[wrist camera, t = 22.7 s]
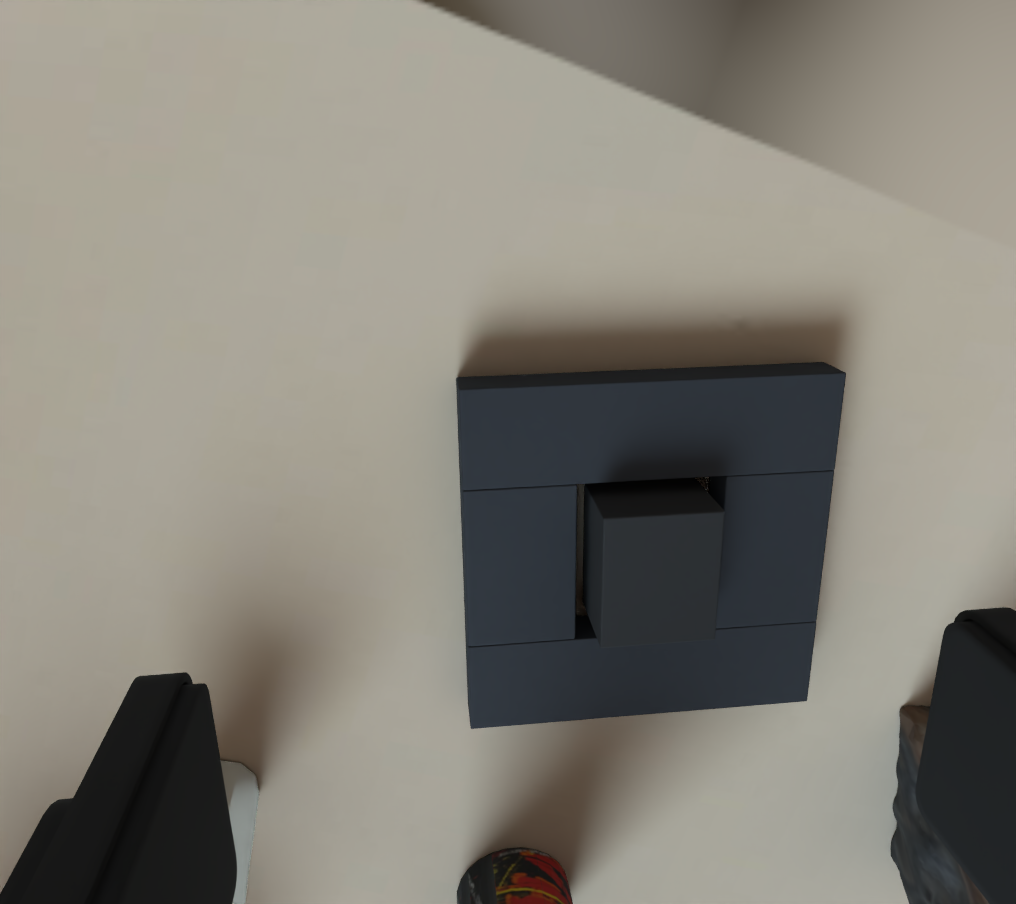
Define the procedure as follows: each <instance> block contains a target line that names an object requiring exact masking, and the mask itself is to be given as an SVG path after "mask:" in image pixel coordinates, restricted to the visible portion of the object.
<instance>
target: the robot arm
mask: <svg viewBox="0 0 1016 904" xmlns="http://www.w3.org/2000/svg"><path fill="white" fill-rule="evenodd" d="M915 795H916V801H917V805H918V808H919V810H920V813H921V815H922V816H923V818H924V819H925V821H926V822H927V823H928V825H929V826H930V827H931V829H932V830H933V831H934V833H935V834H936V835H937V836H938V838H939V839H940V840H941V842H942V843H943V844H944V845H945V847H946V848H947V849H948V851H949V852H950V853H951V855H952V856H953V857H954V858H955V860H956V861H957V862H958V864H959V865H960V866H961V868H962V869H963V870H964V871H965V873H966V874H967V875H968V877H969V878H970V879H971V880H972V882H973V883H974V884H975V886H976V887H977V888H978V890H979V891H980V892H981V893H982V895H983V896H984V897H985V899H986V900H987V901H988V903H989V904H1016V611H1015V610H1013V609H1011V608H990V609H978V610H965V611H963V612H961V613H959V614H958V616H957V617H956V618H955V621H954V623H951V624H949V625H948V626H947V627H946V628H945V631H944V634H943V639H942V645H941V650H940V656H939V661H938V666H937V672H936V677H935V683H934V688H933V694H932V699H931V705H930V710H929V716H928V721H927V726H926V732H925V737H924V743H923V748H922V754H921V759H920V765H919V770H918V776H917V781H916V788H915ZM236 881H237V858H236V851H235V845H234V839H233V833H232V827H231V821H230V815H229V809H228V803H227V797H226V791H225V785H224V779H223V773H222V767H221V761H220V755H219V749H218V742H217V736H216V730H215V724H214V718H213V712H212V706H211V700H210V695H209V690H208V687H207V685H206V684H193V683H192V679H191V677H190V675H189V674H188V673H173V674H161V675H148V676H139V677H137V678H135V680H134V681H133V683H132V684H131V686H130V688H129V690H128V692H127V694H126V696H125V698H124V700H123V702H122V704H121V706H120V708H119V710H118V712H117V714H116V716H115V718H114V720H113V721H112V723H111V725H110V727H109V729H108V731H107V733H106V735H105V737H104V739H103V741H102V743H101V745H100V747H99V749H98V751H97V753H96V755H95V757H94V759H93V761H92V762H91V764H90V766H89V768H88V770H87V772H86V774H85V776H84V778H83V780H82V782H81V784H80V786H79V788H78V790H77V792H76V794H75V796H74V798H71V799H60V800H57V801H56V802H54V803H53V804H51V805H50V806H49V808H48V809H47V811H46V812H45V813H44V815H43V816H42V818H41V820H40V822H39V824H38V826H37V827H36V829H35V831H34V833H33V835H32V837H31V838H30V840H29V842H28V844H27V846H26V848H25V849H24V851H23V853H22V855H21V857H20V859H19V861H18V862H17V864H16V866H15V868H14V870H13V872H12V873H11V875H10V877H9V879H8V881H7V883H6V884H5V886H4V888H3V890H2V892H1V894H0V904H232V903H233V898H234V894H235V889H236Z"/></svg>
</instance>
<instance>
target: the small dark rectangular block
mask: <svg viewBox="0 0 1016 904" xmlns="http://www.w3.org/2000/svg"><path fill="white" fill-rule="evenodd" d="M724 514H725V512H724V510H723V509H722V508H721V507H720V506H719V504H718V503H717V502H716V501H715V500H714V499H713V498H712V497H711V495H710V494H709V493H708V492H707V491H706V490H705V489H704V488H703V487H702V485H701V484H700V483H699V482H698V481H697V480H696V479H695V478H677V479H659V480H641V481H623V482H604V483H586V484H584V540H583V604H584V607H585V609H586V612H587V614H588V617H589V619H590V622H591V624H592V627H593V630H594V632H595V635H596V637H597V640H598V642H599V645H600V647H601V648H610V647H624V646H637V645H651V644H664V643H678V642H691V641H704V640H714V639H715V633H716V620H717V606H718V593H719V580H720V567H721V554H722V540H723V527H724Z"/></svg>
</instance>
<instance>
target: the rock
mask: <svg viewBox="0 0 1016 904" xmlns="http://www.w3.org/2000/svg"><path fill="white" fill-rule="evenodd" d="M929 710H930V707H926V706H906V707H903V708H901V710H900V734H899V738H900V744H899V748H900V749H899V758H898V762H897V768H896V772H897V778H898V792H897V796H896V798H895V800H894V803H893V812H894V815H895V818H896V820H897V829H896V832H895V834H894V836H893V839H892V842H891V857H892V858H893V860H894V862H895V863H896V865H897V867H898V869H899V871H900V877H901V879H902V882H903V886H904V889H905V892H906V894H907V898H908V901H909V904H989V903H988V901H987V900H986V899H985V897H984V896H983V895H982V893H981V892H980V891H979V890H978V888H977V887H976V886H975V884H974V883H973V882H972V880H971V879H970V878H969V877H968V875H967V874H966V873H965V871H964V870H963V869H962V868H961V866H960V865H959V864H958V862H957V861H956V860H955V858H954V857H953V856H952V855H951V853H950V852H949V851H948V849H947V848H946V847H945V845H944V844H943V843H942V842H941V840H940V839H939V838H938V836H937V835H936V834H935V833H934V831H933V830H932V829H931V827H930V826H929V825H928V823H927V822H926V821H925V819H924V818H923V816H922V815H921V813H920V810H919V808H918V805H917V801H916V795H915V788H916V781H917V776H918V770H919V765H920V759H921V754H922V748H923V743H924V737H925V732H926V726H927V721H928V716H929Z"/></svg>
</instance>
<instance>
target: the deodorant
mask: <svg viewBox="0 0 1016 904" xmlns="http://www.w3.org/2000/svg"><path fill="white" fill-rule="evenodd" d="M457 904H573V902H572V897H571V893H570V888H569V884H568V880H567V877H566V874H565V871H564V870H563V868H562V867H561V865H560V864H559V863H558V862H557V861H556V860H555V859H553V858H552V857H551V856H549V855H548V854H545V853H543V852H540V851H537V850H534V849H526V848H512V849H504V850H501V851H498V852H494V853H491V854H489V855H488V856H486V857H484V858H482V859H480V860H478V861H477V862H476V863H475V864H474V865H473V866H472V867H470V868H469V869H468V870H467V872H466V873H465V875H464V876H463V878H462V879H461V881H460V884H459V887H458V891H457Z"/></svg>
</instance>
